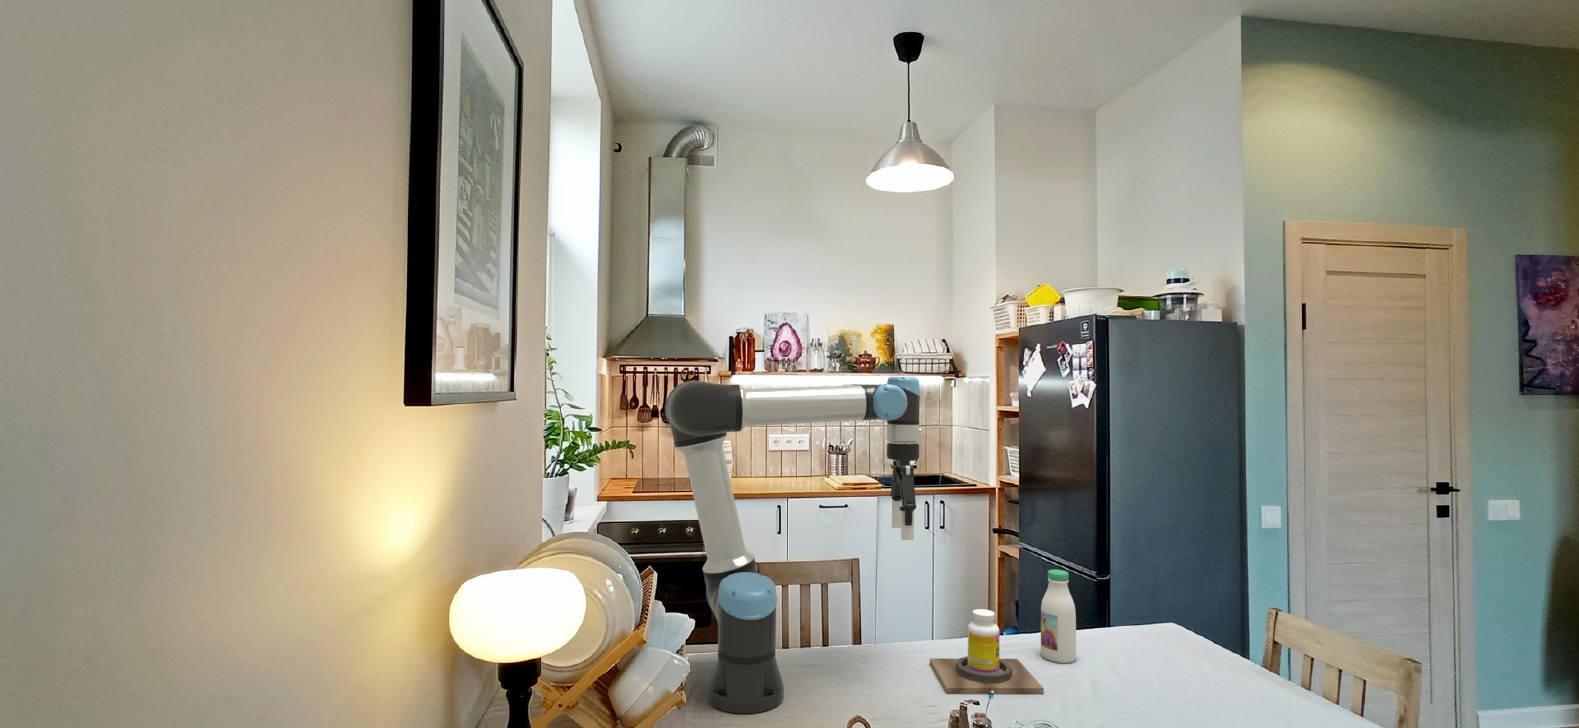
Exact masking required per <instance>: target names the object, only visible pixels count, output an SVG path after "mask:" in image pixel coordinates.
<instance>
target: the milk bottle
mask: <svg viewBox="0 0 1579 728" xmlns="http://www.w3.org/2000/svg"><path fill="white" fill-rule="evenodd" d="M1069 578H1070V576H1069V571H1066V570H1061V569H1049V570H1048V571H1047V581H1048V585H1047V589H1046V591H1045V593H1044V595H1043V597H1042V600H1041V605H1040V654H1041V657H1042V658H1043V659H1045V660H1047V661H1050V662H1054V663H1059V664H1071V663H1073V662H1075V661H1076V659H1077V621H1076V620H1077V616H1076V613H1077V612H1076V604H1075V602H1074V599H1073V597H1072V594H1071V593H1070V590H1069V586H1068V585H1069V584H1068V583H1069Z"/></svg>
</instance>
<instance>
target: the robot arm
mask: <svg viewBox="0 0 1579 728" xmlns="http://www.w3.org/2000/svg"><path fill="white" fill-rule="evenodd" d="M920 390H921V387H920V381H919V379H918V378H917V377H916V376H915V377H914V376H889V377H888V378H887V381H886V383H883V384H882V383H881V384H880V383H879V384H857V383H856V384H855V383H852V384H843V385H833V386H832V385H831V386H830V385H829V386H826V385H825V386H824V385H823V386H799V387H774V388H773V387H771V388H744V387H743V386H742V385H741V384H724V383H715V382H714V383H713V382H707V381H705V380H704V381H701V380H687V381H685V382H681V383H679V384H678V385H676V386H675V387H674V388H673V389H671V391H670V392H669V394H668V396H667V397H666V401H665V406H664V412H665V417H666V419H667V421H668V423H669V425H670V431H671V434H672V439H673V444H674V448H675V449H676V450H678V451H679V452H681V453H682V454H683V455H684V460H685V465H686V469H687V473H688V477H689V479H688V480H689V481H690V483H689V484H690V486H691V492H692V497H693V501H694V505H695V510H696V514H697V519H698V522H699V523H698V524H699V529H700V532H701V536H702V540H703V545H704V549H705V554H706V557H707V558H706V562H705V563H704V565H703V567H702V574H703V577H704V583H705V586H706V588H705V590H706V592H705V595H706V600H707V604H708V605H709V607H710V609H711V610H712V612H713V614H714V616H715V619H716V620H717V621H716V622H717V658H716V663H715V666H714V669H713V671H712V672H713V673H712V674H711V678H710V680H709V681H710V682H709V684H708V697H707V698H708V702H709V703H710V704H711V706H712V707H715V708H716V709H719V710H720V711H724V712H727V713H728V712H729V713H733V714H757V713H763V712H767V711H769V710H772V709H774V708H776V707H778V706H780V705H781V704H782V702H783V700H784V697H785V696H784V695H785V693H784V691H785V686H784V682H783V678H782V675H781V672H780V669H779V666H778V662H777V659H776V657H777V656H776V645H777V643H776V641H777V635H776V633H777V603H778V595H777V589H776V585H775V582H774V581H773V580H772V579H771V578H770V577H768V576H766V575H761V574H760V573H759V572H758V567H757V564H756V560H755V559H756V558H755V556H754V554H753V553H751V552H750V551H748V550H747V549H746V546H745V545H746V544H745V541H744V537H743V532H742V527H741V523H740V519H739V515H738V514H739V513H738V510H737V506H736V501H735V497H734V492H733V487H732V484H731V477H730V474H729V470H728V465H727V461H726V460H727V459H726V456H725V455H726V454H725V451H724V448H723V444H724V442H725V441H726V438H727V437H728V433H734V432H735V433H737V432H743V430H744V429H745V428H746V427H753V426H754V427H755V426H756V427H757V426H773V425H791V424H796V425H797V424H809V423H810V424H813V423H814V424H815V423H831V422H832V423H833V422H834V423H836V422H849V421H850V422H853V421H854V422H855V421H879V420H880V421H881V420H882V421H886V440H887V441H888V443H887V444H886V457H887V459H888V460H892V475H891V477H892V478H891V489H890V496H891V528H892V529H900V530H901V531H900V533H901V535H900V539H901V541H914V539H915V510H916V509H917V503H916V502H917V500H916V489H915V479H914V476H915V474H914V473H915V472H914V470H915V468H914V466H913V465H911V461H918V460H919V458H920V445H919V443H917V442H919V441H920V433H922V431H923V429H922V428H921V427H920V408H921V407H920V401H921V400H920V399H921V391H920Z"/></svg>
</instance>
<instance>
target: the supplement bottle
mask: <svg viewBox="0 0 1579 728" xmlns="http://www.w3.org/2000/svg"><path fill="white" fill-rule="evenodd" d="M972 619H973V621H970V622H969V624H968V626H967V656H968V670H970V671H972V672H976V673H981V674H998V673H999V659H1000V628H999V626H998V625H997V624H996V623H995V620H996V613H995V611H992V610H990V609H984V608H979V609H978V608H977V609H973V611H972Z"/></svg>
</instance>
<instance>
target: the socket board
mask: <svg viewBox="0 0 1579 728" xmlns="http://www.w3.org/2000/svg"><path fill="white" fill-rule="evenodd" d="M929 665H930V666H931V669H932V670H933V672H934V674H935V675H936V677H937V678H938V681H939V683H940V684H941V686H942V688H943V690H944V692H945V693H946V694H947V695H958V694H959V695H962V694H963V695H990V694H989V693H990V692H991V690H993V691H994V694H993V695H1044V693H1045V692H1044V687H1043V686H1042V685H1041V683H1039V682H1038V680H1037V679H1036V678H1035V677H1034V676H1033V674H1031V672H1030V671H1029V670H1028V669H1027V668H1026V667H1025V665H1024V664H1023V663H1022V662H1021V661H1020V660H1019V659H1018V658H999V673H998V674H981V673H976V672H972V671H970V670H968V655H966V656H963V657H960V658H946V657H945V658H940V657H939V658H929Z"/></svg>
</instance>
